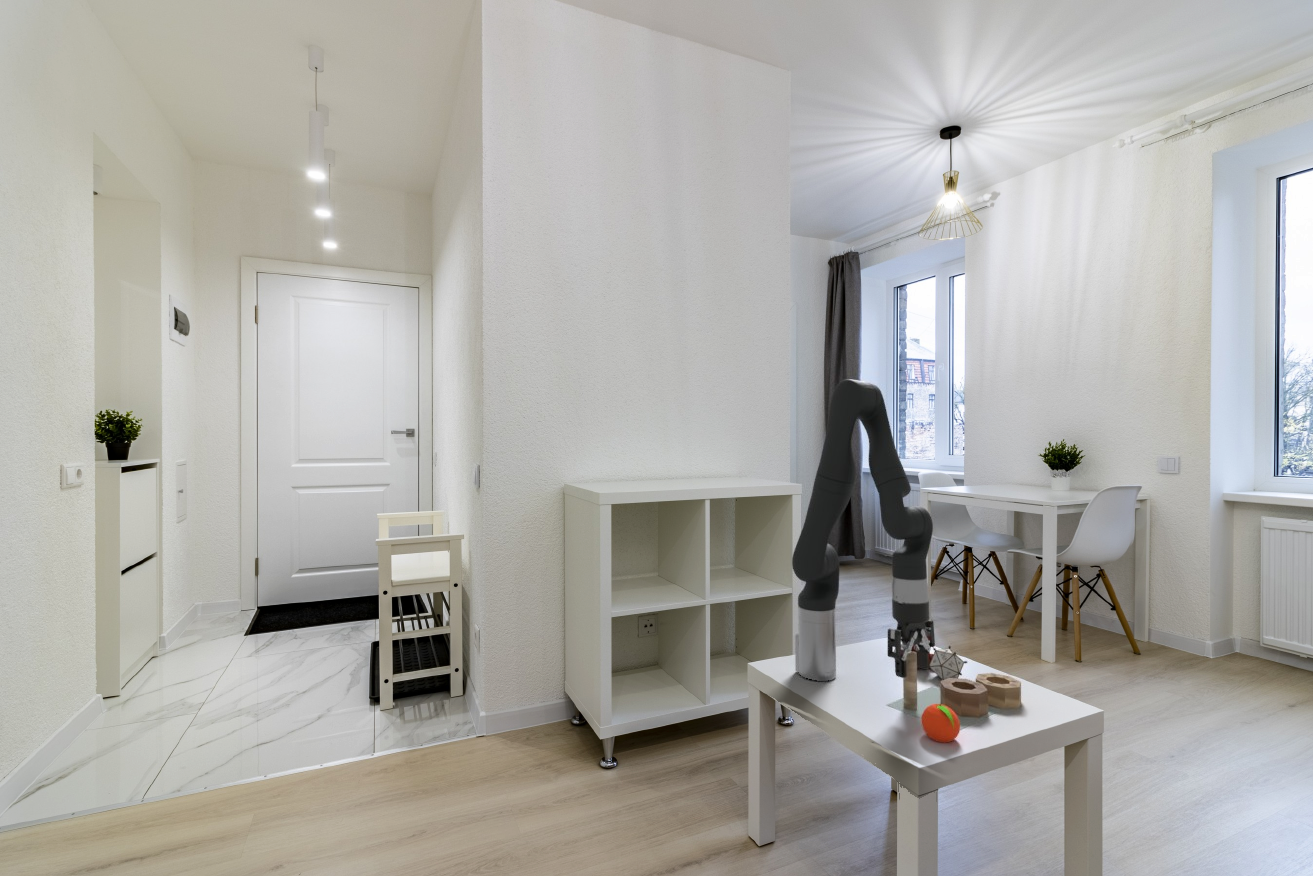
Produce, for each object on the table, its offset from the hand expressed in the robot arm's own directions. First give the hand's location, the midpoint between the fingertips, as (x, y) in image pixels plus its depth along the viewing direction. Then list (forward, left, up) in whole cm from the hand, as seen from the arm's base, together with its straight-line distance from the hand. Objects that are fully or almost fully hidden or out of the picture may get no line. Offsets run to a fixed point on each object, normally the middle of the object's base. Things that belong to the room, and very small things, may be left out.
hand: (912, 672), depth 135 cm
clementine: (+12, -8, -9) cm, 17 cm away
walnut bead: (+7, +9, -8) cm, 13 cm away
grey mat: (+4, +6, -8) cm, 11 cm away
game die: (-5, +23, -9) cm, 25 cm away
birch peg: (0, 0, -8) cm, 8 cm away
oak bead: (+9, +19, -8) cm, 23 cm away
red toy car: (-15, +26, -9) cm, 31 cm away
